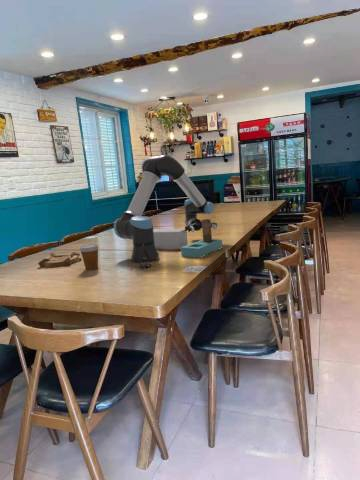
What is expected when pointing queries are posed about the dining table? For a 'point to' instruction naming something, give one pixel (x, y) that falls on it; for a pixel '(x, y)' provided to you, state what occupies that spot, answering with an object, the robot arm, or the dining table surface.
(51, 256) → the brown flat irregular piece
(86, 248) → the disposable coffee cup
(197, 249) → the bore block
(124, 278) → the dining table surface
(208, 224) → the walnut pin
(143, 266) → the eiffel tower figurine
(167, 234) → the stack of papers
